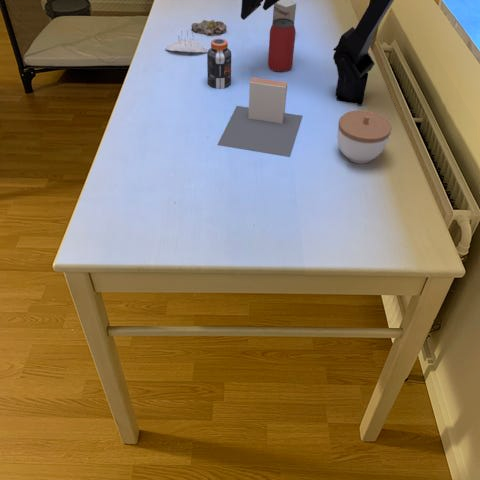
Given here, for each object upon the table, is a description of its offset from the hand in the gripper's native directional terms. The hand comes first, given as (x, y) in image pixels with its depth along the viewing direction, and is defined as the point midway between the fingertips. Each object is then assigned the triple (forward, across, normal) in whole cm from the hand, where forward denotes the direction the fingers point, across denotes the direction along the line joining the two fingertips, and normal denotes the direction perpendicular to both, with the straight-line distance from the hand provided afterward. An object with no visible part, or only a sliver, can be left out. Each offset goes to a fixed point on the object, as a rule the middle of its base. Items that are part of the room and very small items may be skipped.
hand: (253, 13), depth 128 cm
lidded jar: (-6, +18, +45) cm, 48 cm away
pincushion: (+21, +5, -11) cm, 24 cm away
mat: (+3, +24, +26) cm, 35 cm away
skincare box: (+14, -21, +2) cm, 25 cm away
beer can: (+9, -5, +12) cm, 16 cm away
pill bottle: (+13, +13, +7) cm, 20 cm away
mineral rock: (+23, -10, -15) cm, 29 cm away
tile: (+4, +19, +23) cm, 31 cm away
